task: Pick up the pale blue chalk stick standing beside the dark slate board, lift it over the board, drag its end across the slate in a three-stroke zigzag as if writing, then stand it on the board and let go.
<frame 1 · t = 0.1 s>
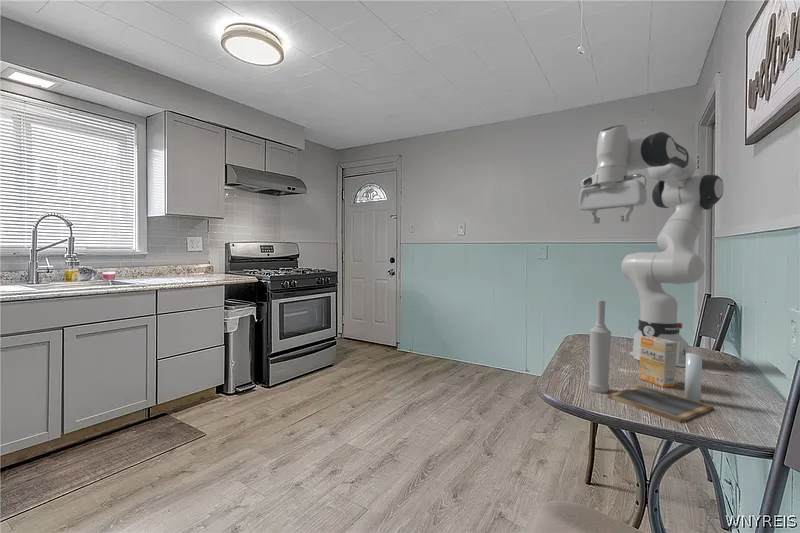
hand: (610, 222, 122), 48 cm above the table, fingers open, 8 cm apart
bottle: (598, 390, 108), on the table
chalk: (692, 399, 101), on the table
supplement box: (656, 383, 115), on the table
slate board: (658, 403, 99), on the table
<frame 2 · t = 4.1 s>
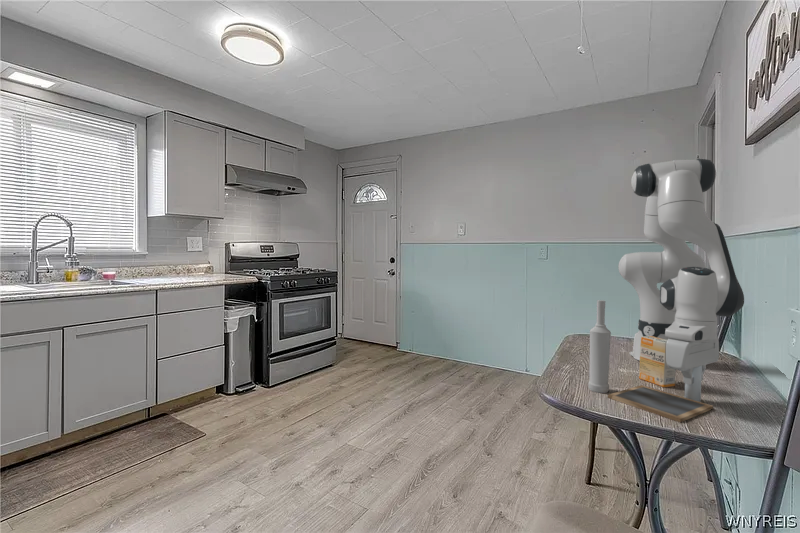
hand: (693, 382, 101), 5 cm above the table, fingers closed on chalk, 3 cm apart
chalk: (692, 399, 101), on the table, touching gripper
everything else where it was.
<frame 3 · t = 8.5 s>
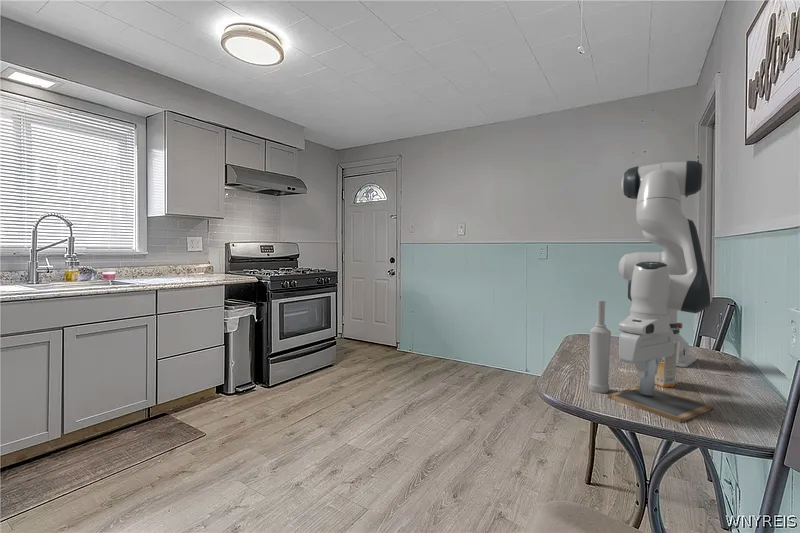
hand: (647, 375, 102), 6 cm above the table, fingers closed on chalk, 3 cm apart
chalk: (646, 393, 102), point 1 cm above the table, touching gripper
everything else where it was.
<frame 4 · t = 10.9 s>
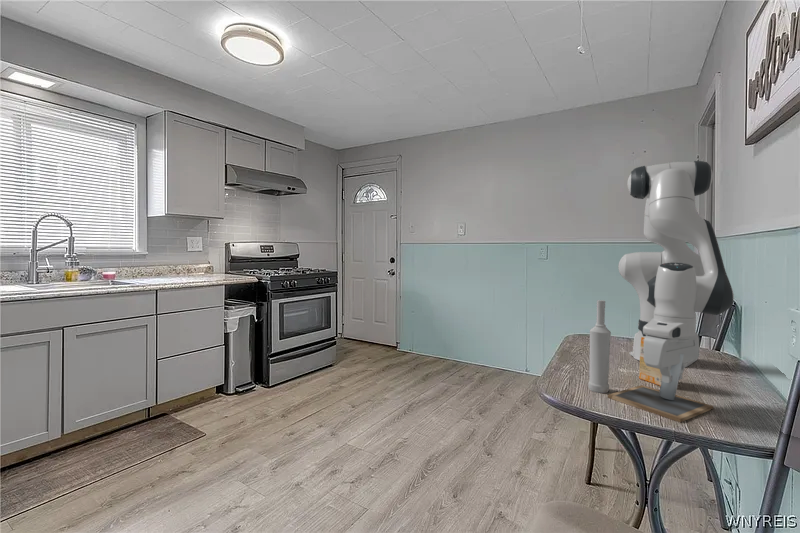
hand: (671, 380, 99), 6 cm above the table, fingers closed on chalk, 3 cm apart
chalk: (666, 397, 100), point 1 cm above the table, tilted 8°, touching gripper
everything else where it was.
when the fingers open (6 cm above the table, at t = 12.8 s): chalk moves 1 cm, resting on slate board.
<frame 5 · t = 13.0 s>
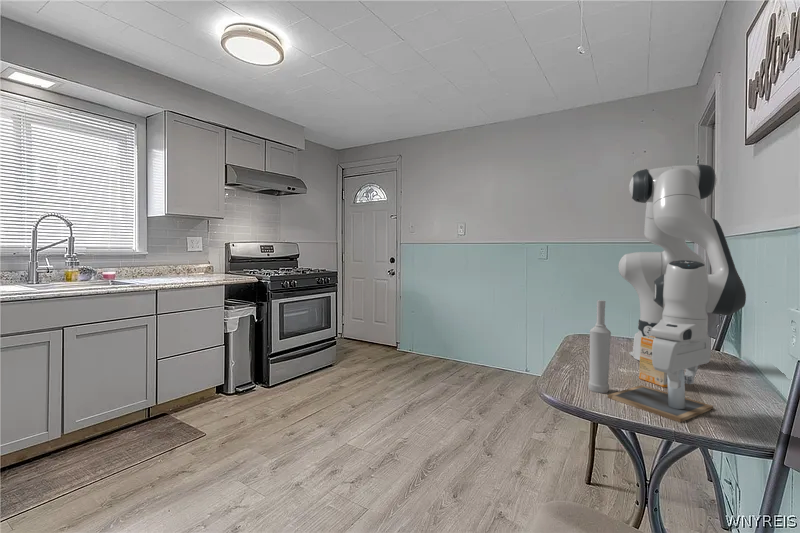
hand: (681, 385, 93), 6 cm above the table, fingers open, 5 cm apart
chalk: (676, 406, 94), point 1 cm above the table, touching slate board
everything else where it was.
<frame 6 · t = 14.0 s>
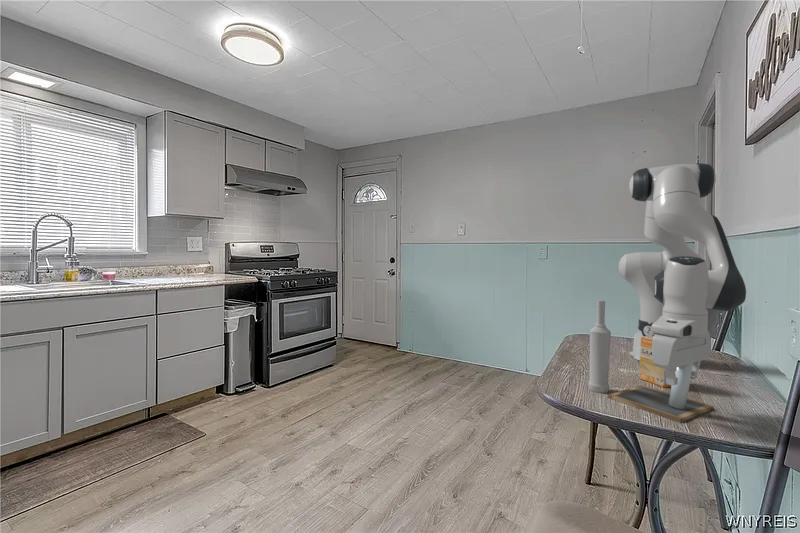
hand: (681, 381, 93), 7 cm above the table, fingers open, 8 cm apart
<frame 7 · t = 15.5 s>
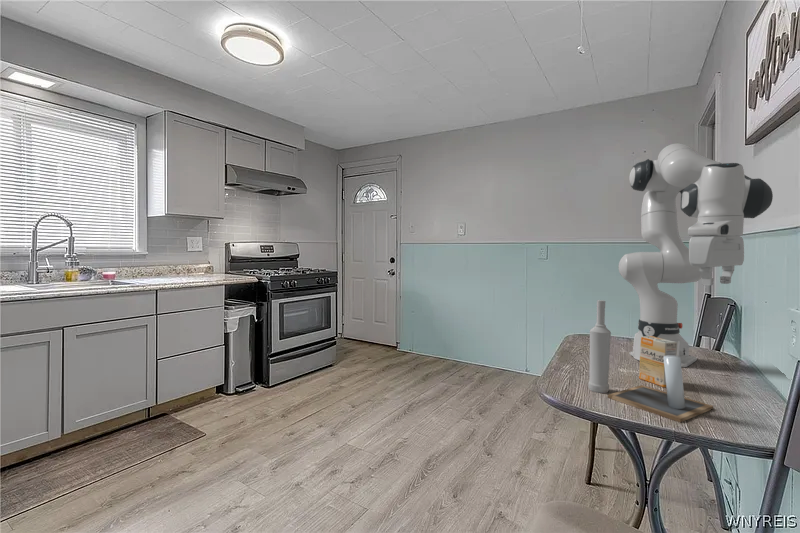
hand: (716, 284, 96), 31 cm above the table, fingers open, 8 cm apart
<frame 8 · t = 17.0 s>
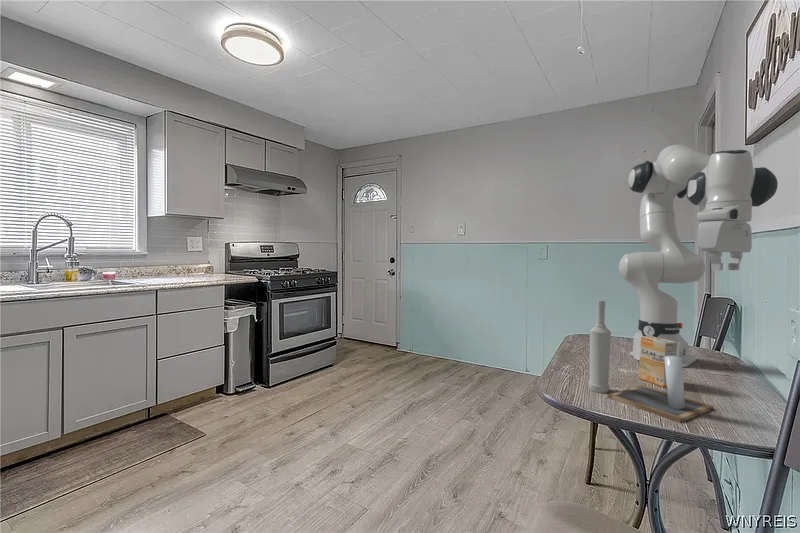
hand: (725, 270, 97), 34 cm above the table, fingers open, 8 cm apart
nothing on the table moved.
at the end: chalk inside the target area on the slate board (4.7 cm from its centre), point 0.9 cm above the slate board's base; chalk tilted 4°; the gripper is holding nothing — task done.
